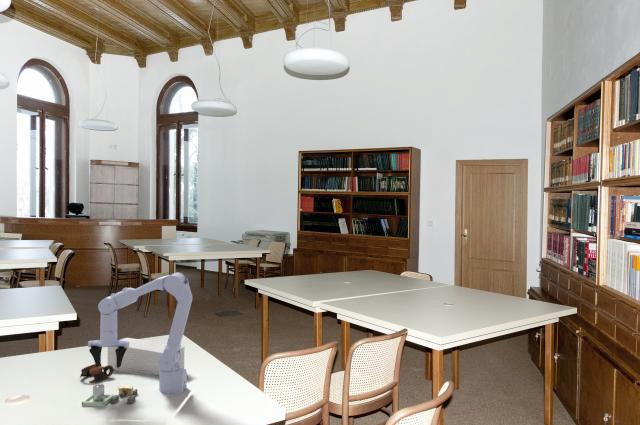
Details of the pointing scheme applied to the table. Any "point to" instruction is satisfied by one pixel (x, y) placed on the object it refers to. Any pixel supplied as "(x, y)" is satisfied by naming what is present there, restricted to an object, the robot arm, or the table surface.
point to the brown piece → (97, 372)
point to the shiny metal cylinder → (98, 393)
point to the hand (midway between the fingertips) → (108, 366)
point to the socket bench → (116, 397)
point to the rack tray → (90, 402)
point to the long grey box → (141, 357)
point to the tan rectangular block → (126, 390)
